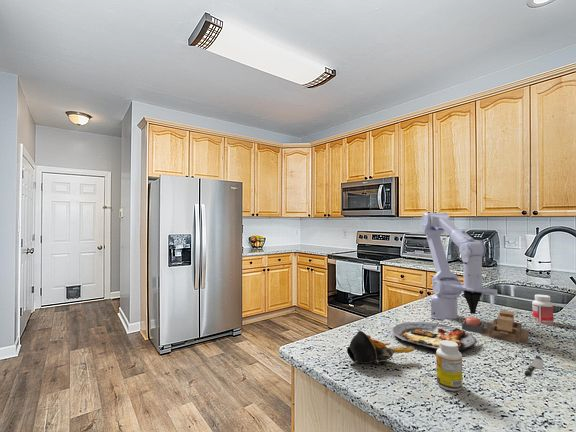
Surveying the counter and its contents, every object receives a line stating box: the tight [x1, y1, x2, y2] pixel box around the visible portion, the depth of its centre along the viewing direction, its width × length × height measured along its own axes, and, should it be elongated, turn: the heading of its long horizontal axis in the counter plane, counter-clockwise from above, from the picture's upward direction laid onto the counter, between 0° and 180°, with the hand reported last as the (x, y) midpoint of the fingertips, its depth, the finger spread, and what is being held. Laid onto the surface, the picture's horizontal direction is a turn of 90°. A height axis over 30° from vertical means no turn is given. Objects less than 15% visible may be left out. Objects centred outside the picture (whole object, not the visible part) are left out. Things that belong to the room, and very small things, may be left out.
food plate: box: [391, 321, 477, 351], centre depth 104 cm, size 25×23×4 cm
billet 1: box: [498, 309, 515, 327], centre depth 111 cm, size 4×4×6 cm
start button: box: [465, 316, 481, 326], centre depth 111 cm, size 4×4×3 cm
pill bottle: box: [531, 293, 555, 326], centre depth 118 cm, size 6×6×11 cm
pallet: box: [482, 318, 530, 345], centre depth 107 cm, size 12×16×3 cm
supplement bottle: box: [435, 340, 463, 392], centre depth 75 cm, size 6×6×10 cm
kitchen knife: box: [524, 355, 545, 377], centre depth 85 cm, size 19×1×3 cm
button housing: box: [461, 318, 485, 334], centre depth 111 cm, size 6×6×3 cm
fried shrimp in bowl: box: [346, 330, 416, 365], centre depth 89 cm, size 9×11×18 cm
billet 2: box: [496, 315, 513, 334], centre depth 104 cm, size 4×4×6 cm
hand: (473, 313), depth 111 cm, fingers closed
